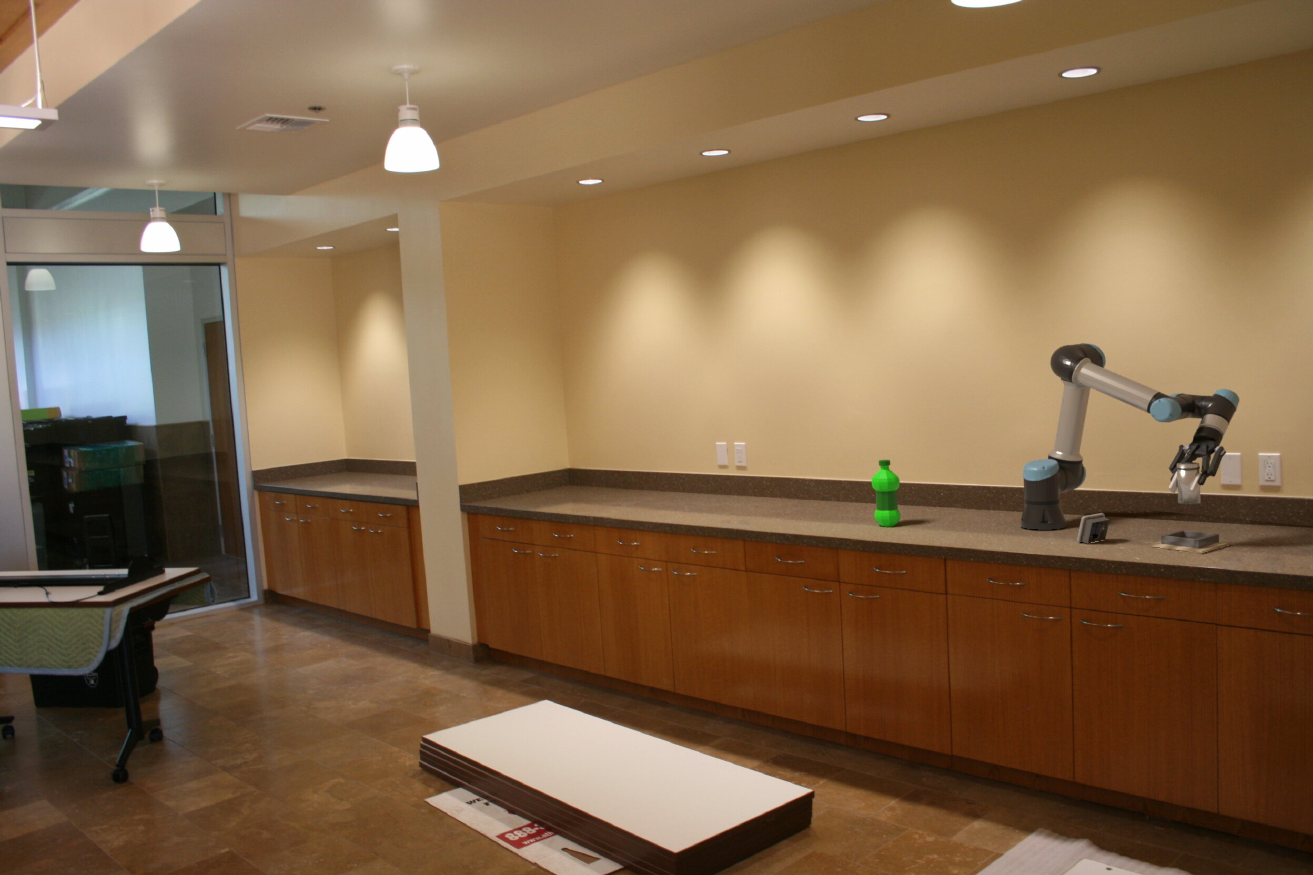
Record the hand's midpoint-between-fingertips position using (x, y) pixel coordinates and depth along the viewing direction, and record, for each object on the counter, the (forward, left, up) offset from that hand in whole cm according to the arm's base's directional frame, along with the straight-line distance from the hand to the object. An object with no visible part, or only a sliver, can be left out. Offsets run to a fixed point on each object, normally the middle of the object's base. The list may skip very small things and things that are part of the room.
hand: (1182, 491), depth 291 cm
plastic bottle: (-99, -25, -18) cm, 104 cm away
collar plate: (0, +4, -18) cm, 18 cm away
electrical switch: (-25, -7, -18) cm, 32 cm away
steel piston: (0, +4, -4) cm, 5 cm away
